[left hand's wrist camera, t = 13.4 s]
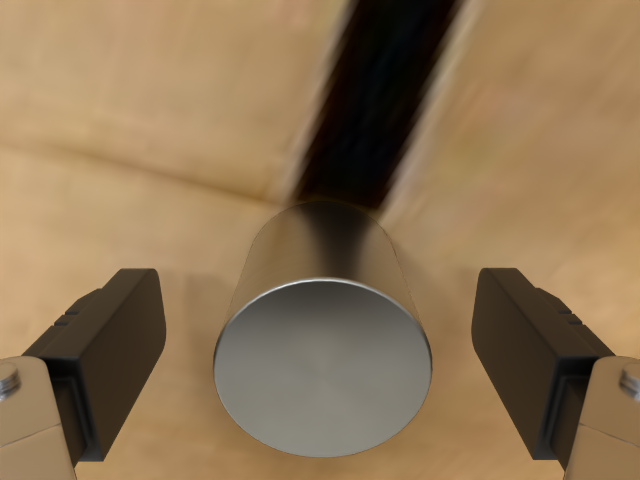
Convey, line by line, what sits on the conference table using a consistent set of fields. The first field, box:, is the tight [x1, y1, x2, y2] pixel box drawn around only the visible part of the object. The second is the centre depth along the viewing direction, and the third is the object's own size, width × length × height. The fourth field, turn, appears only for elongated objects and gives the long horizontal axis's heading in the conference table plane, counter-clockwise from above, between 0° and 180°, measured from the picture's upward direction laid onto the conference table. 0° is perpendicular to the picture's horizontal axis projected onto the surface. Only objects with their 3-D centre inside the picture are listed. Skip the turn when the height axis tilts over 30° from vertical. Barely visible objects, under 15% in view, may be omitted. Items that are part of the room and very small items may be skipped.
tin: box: [213, 201, 433, 458], centre depth 10 cm, size 4×4×4 cm
